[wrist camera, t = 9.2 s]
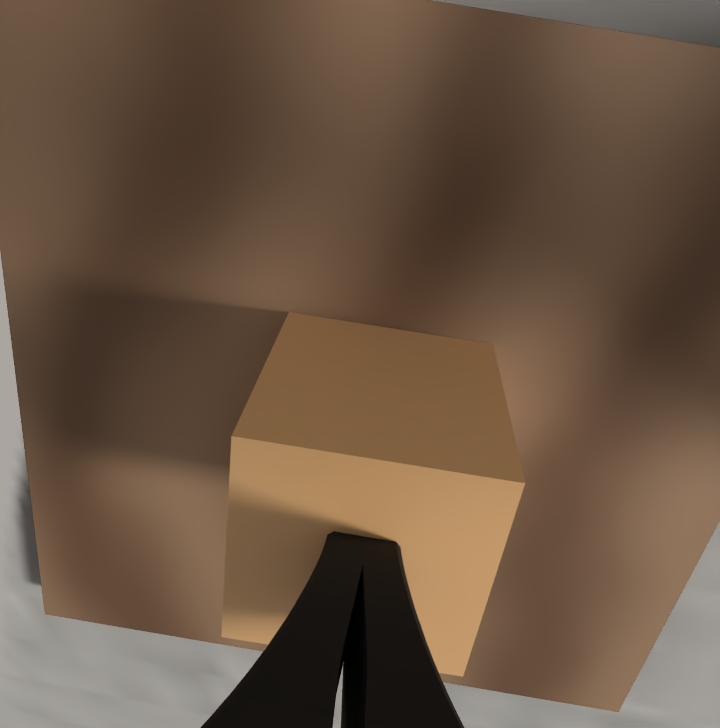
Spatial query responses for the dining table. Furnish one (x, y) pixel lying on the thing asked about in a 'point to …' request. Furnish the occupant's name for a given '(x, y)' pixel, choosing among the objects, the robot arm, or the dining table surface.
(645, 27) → the dining table surface
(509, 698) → the dining table surface
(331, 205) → the base board
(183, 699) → the dining table surface
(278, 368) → the tan wooden cube
